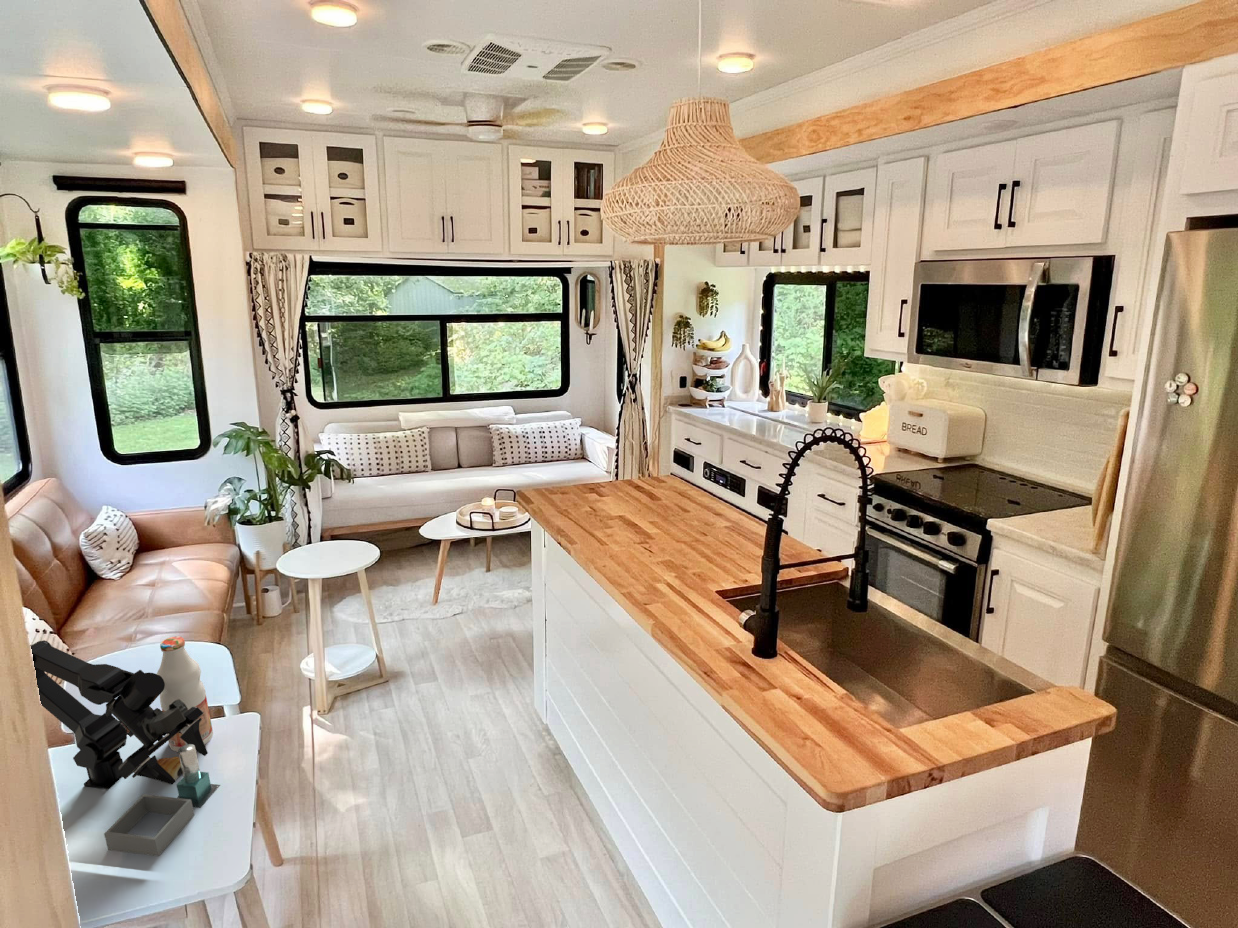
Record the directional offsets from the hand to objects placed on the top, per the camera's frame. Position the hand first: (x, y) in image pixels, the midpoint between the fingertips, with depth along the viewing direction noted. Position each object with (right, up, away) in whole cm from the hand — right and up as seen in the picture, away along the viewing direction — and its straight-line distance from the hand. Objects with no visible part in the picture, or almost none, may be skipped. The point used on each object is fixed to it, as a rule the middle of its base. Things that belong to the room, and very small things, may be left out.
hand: (190, 768), depth 167 cm
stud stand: (0, -8, +2) cm, 8 cm away
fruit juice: (-11, -2, +20) cm, 23 cm away
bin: (-3, -11, -8) cm, 14 cm away
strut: (0, -7, +2) cm, 7 cm away
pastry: (-10, -6, +10) cm, 15 cm away
